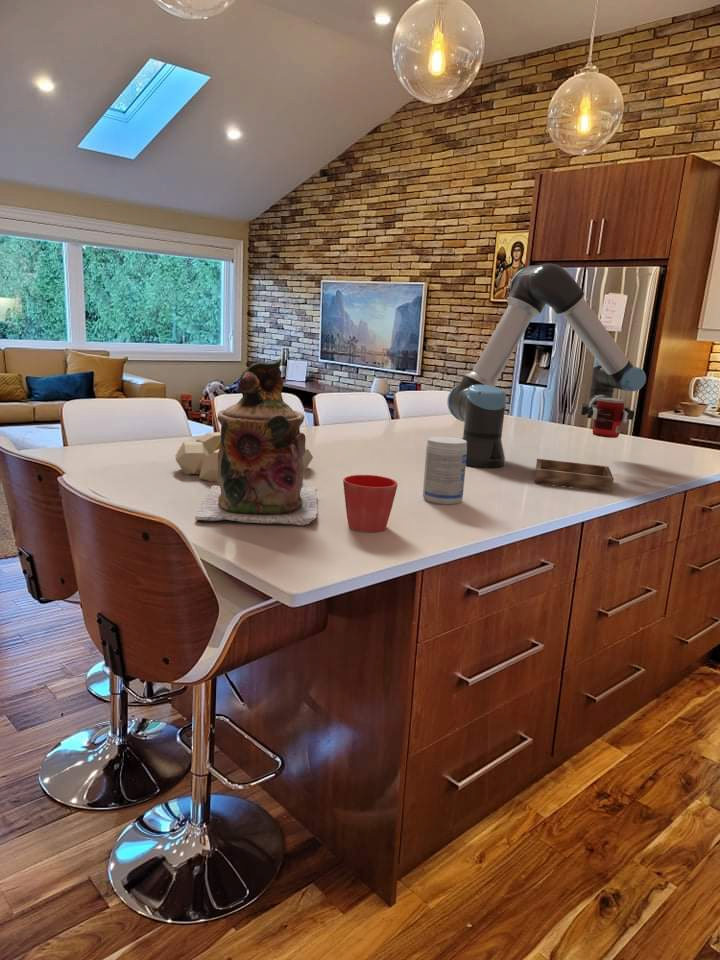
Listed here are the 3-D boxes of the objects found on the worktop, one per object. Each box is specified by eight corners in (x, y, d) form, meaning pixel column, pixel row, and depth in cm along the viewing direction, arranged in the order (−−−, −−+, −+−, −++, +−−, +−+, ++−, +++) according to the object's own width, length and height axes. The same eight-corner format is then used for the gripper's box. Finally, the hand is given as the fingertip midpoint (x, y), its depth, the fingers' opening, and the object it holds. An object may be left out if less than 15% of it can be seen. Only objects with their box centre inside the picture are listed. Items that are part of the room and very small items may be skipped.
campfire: (209, 452, 192) (209, 395, 188) (320, 462, 188) (323, 404, 184) (156, 479, 158) (155, 410, 154) (291, 492, 154) (293, 422, 150)
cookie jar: (211, 491, 150) (211, 351, 142) (317, 495, 152) (323, 358, 144) (191, 524, 126) (191, 358, 118) (318, 528, 128) (325, 365, 120)
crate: (534, 483, 177) (536, 469, 176) (535, 471, 192) (537, 458, 191) (611, 492, 172) (613, 478, 171) (606, 479, 187) (608, 466, 186)
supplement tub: (468, 505, 151) (474, 444, 147) (429, 506, 149) (435, 443, 145) (453, 494, 160) (459, 436, 157) (416, 494, 158) (421, 435, 154)
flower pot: (366, 515, 138) (369, 471, 136) (404, 529, 131) (408, 482, 128) (329, 524, 131) (332, 477, 129) (367, 539, 123) (371, 490, 121)
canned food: (614, 434, 197) (620, 398, 195) (622, 438, 190) (628, 401, 187) (588, 432, 198) (594, 396, 195) (596, 436, 190) (601, 399, 187)
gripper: (634, 422, 208) (645, 432, 186) (568, 415, 212) (572, 425, 191) (638, 399, 206) (650, 406, 184) (571, 393, 210) (575, 399, 189)
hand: (610, 416), depth 187 cm, fingers closed on canned food, 8 cm apart
